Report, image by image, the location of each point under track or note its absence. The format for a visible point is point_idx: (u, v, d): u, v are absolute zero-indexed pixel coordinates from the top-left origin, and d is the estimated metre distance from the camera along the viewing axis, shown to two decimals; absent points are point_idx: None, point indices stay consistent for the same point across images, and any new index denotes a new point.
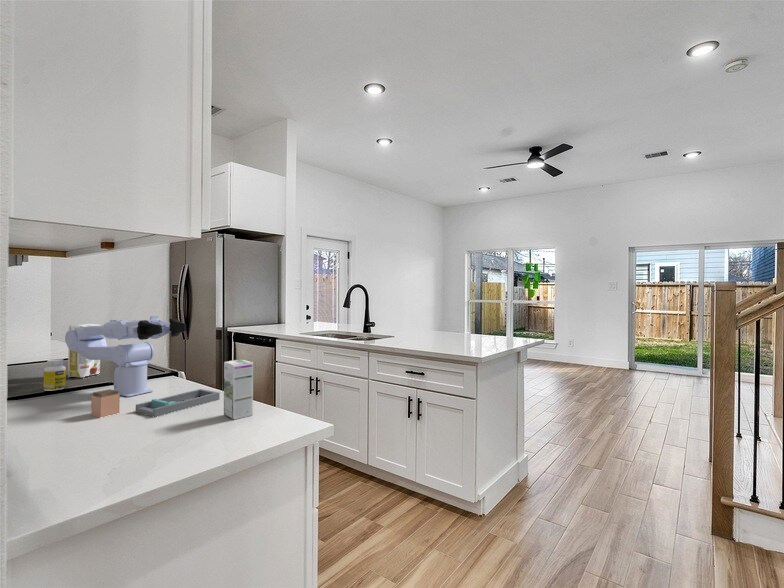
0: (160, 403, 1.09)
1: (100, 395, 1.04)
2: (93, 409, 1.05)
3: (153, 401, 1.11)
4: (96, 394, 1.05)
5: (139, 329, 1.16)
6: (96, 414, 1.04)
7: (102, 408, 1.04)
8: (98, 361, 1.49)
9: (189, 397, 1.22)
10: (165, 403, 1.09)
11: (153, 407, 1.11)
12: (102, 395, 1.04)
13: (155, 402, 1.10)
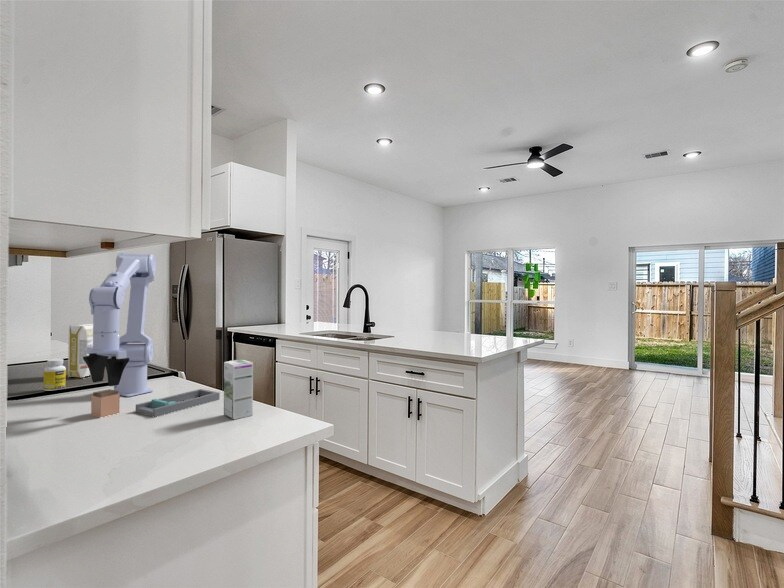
0: (160, 403, 1.09)
1: (100, 395, 1.04)
2: (93, 409, 1.05)
3: (153, 401, 1.11)
4: (96, 394, 1.05)
5: None
6: (96, 414, 1.04)
7: (102, 408, 1.04)
8: None
9: (189, 397, 1.22)
10: (165, 403, 1.09)
11: (153, 407, 1.11)
12: (102, 395, 1.04)
13: (155, 402, 1.10)
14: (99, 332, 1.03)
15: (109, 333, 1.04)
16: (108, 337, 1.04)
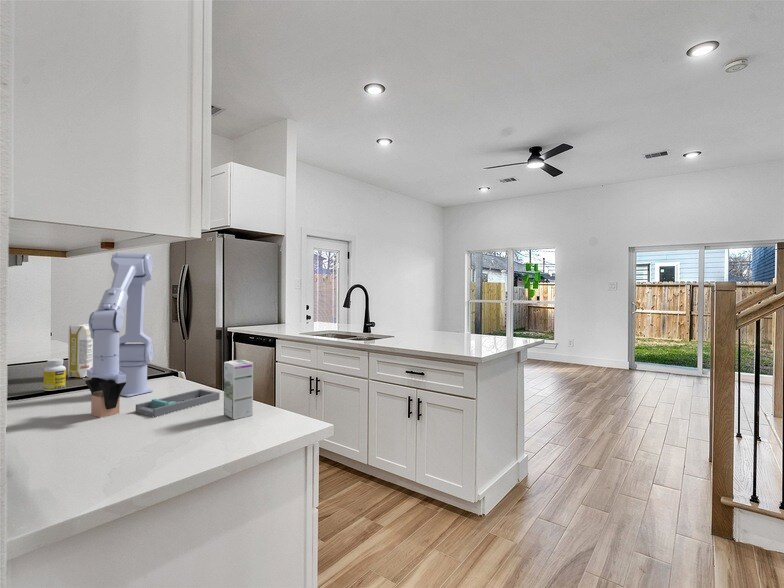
0: (160, 403, 1.09)
1: (100, 395, 1.04)
2: (93, 409, 1.05)
3: (153, 401, 1.11)
4: (96, 394, 1.05)
5: None
6: (96, 414, 1.04)
7: (102, 408, 1.04)
8: None
9: (189, 397, 1.22)
10: (165, 403, 1.09)
11: (153, 407, 1.11)
12: (102, 395, 1.04)
13: (155, 402, 1.10)
14: (99, 356, 1.03)
15: (109, 357, 1.04)
16: (107, 361, 1.04)
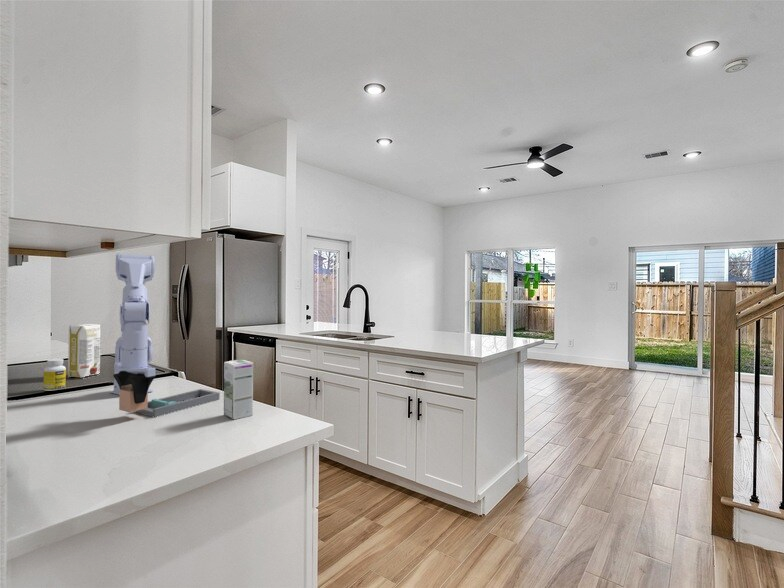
0: (160, 403, 1.09)
1: (129, 389, 1.01)
2: (121, 403, 1.02)
3: (153, 401, 1.11)
4: (124, 388, 1.02)
5: None
6: (124, 408, 1.02)
7: (131, 402, 1.01)
8: (98, 361, 1.49)
9: (189, 397, 1.22)
10: (165, 403, 1.09)
11: (153, 407, 1.11)
12: (131, 389, 1.01)
13: (155, 402, 1.10)
14: (128, 349, 1.01)
15: (138, 350, 1.02)
16: (137, 354, 1.02)
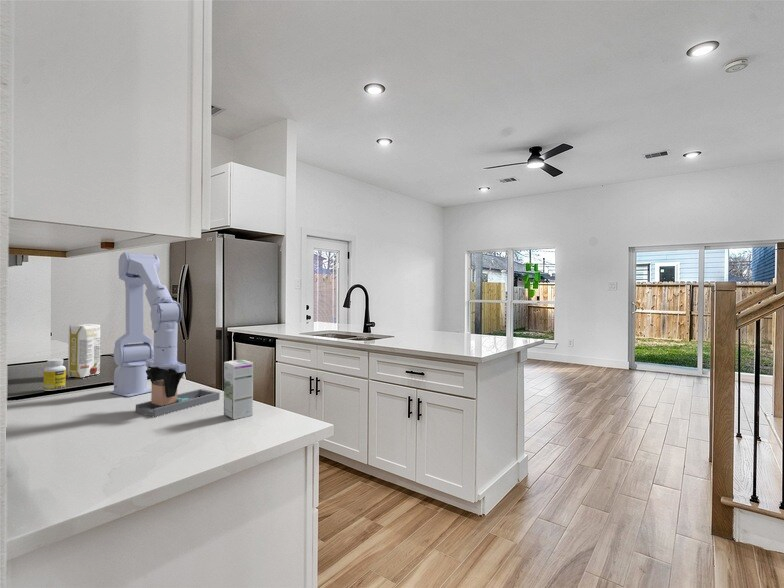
0: None
1: (161, 384, 1.09)
2: (153, 397, 1.10)
3: None
4: (156, 383, 1.10)
5: None
6: (156, 402, 1.09)
7: (163, 396, 1.09)
8: (98, 361, 1.49)
9: (189, 397, 1.22)
10: (179, 399, 1.12)
11: None
12: (163, 384, 1.09)
13: None
14: (160, 347, 1.08)
15: (169, 347, 1.09)
16: (168, 351, 1.09)
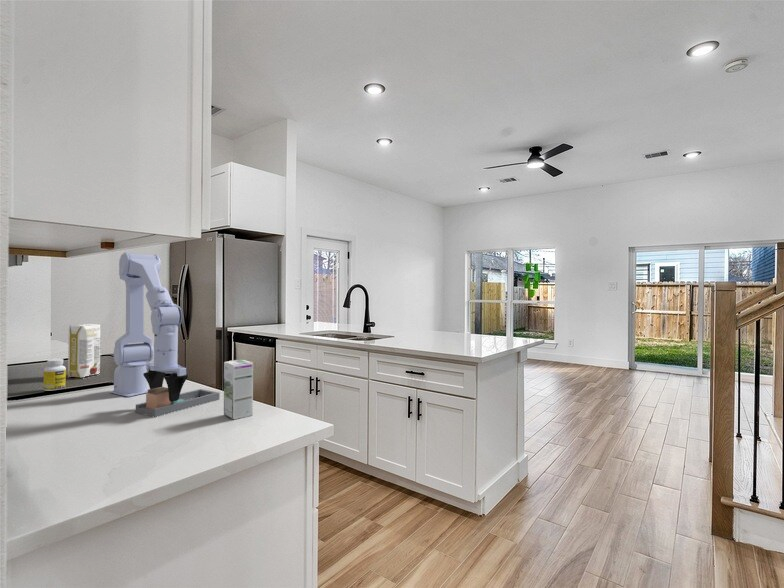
0: None
1: (155, 392, 1.08)
2: (148, 406, 1.09)
3: None
4: (151, 392, 1.08)
5: None
6: None
7: (158, 405, 1.07)
8: (98, 361, 1.49)
9: (189, 397, 1.22)
10: (174, 401, 1.11)
11: None
12: (157, 392, 1.07)
13: None
14: (160, 350, 1.09)
15: (169, 351, 1.10)
16: (168, 354, 1.09)
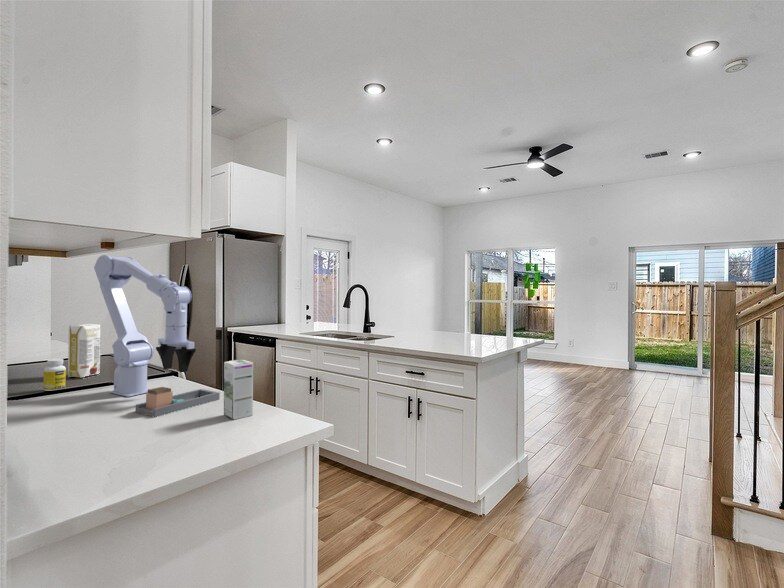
0: None
1: (155, 392, 1.08)
2: (148, 406, 1.09)
3: None
4: (151, 391, 1.08)
5: None
6: None
7: (158, 405, 1.07)
8: (98, 361, 1.49)
9: (189, 397, 1.22)
10: (174, 401, 1.11)
11: None
12: (157, 392, 1.07)
13: None
14: (171, 326, 1.20)
15: (179, 327, 1.21)
16: (178, 330, 1.21)
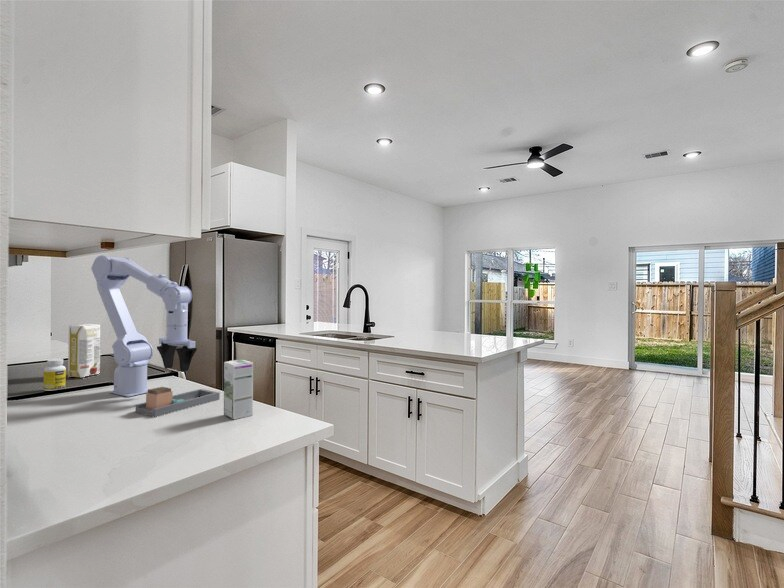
0: None
1: (155, 392, 1.08)
2: (148, 406, 1.09)
3: None
4: (151, 391, 1.08)
5: None
6: None
7: (158, 405, 1.07)
8: (98, 361, 1.49)
9: (189, 397, 1.22)
10: (174, 401, 1.11)
11: None
12: (157, 392, 1.07)
13: None
14: (172, 325, 1.21)
15: (180, 326, 1.22)
16: (179, 329, 1.22)
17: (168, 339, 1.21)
